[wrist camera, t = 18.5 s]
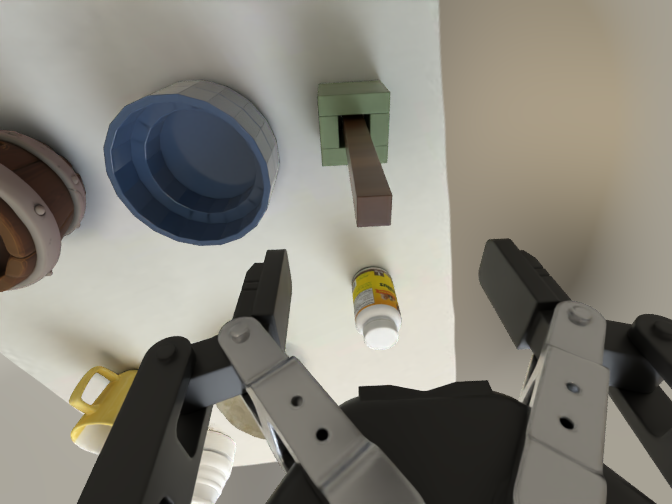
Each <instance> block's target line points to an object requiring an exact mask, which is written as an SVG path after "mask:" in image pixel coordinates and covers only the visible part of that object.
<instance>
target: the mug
mask: <svg viewBox="0 0 672 504" xmlns="http://www.w3.org/2000/svg"><path fill="white" fill-rule="evenodd" d="M137 371H138V370H129V371H126V372H123V373H121V374H119V375H117V374H116V373H114V372H112V371H110V370H108V369H106V368H104V367H102V366H96V367H93V368H92V369H90V370H89V371H88V372H87V373H86V374H85V375H84V376H83V378H82V379H81V380H80V382H79V383H78V385H77V386H76V388H75V389H74V391H73V393H72V395H71V397H70V400H69V403H70V405H71V406H73V407H75V408H76V409H78V410H80V411H82V412H83V413H85V414H84V415H83V416H82V418H81V419H80V420H79V422H78V423H77V424H76V426H75V427H74V428H73V430H72V431H71V439H72V441H73V442H74V443H75V444H76V445H77V446H78V447H80V448H82V449H84V450H86V451H88V452H92V453H95V454H98V455H99V454H100V452H101V450H102V448H103V445H104V443H105V441H106V439H107V437H108V435H109V432H110V430H111V428H112V426H113V424H114V421H115V419H116V417H117V415H118V413H119V410H120V408H121V406H122V404H123V402H124V400H125V397H126V395H127V393H128V391H129V389H130V386H131V384H132V382H133V380H134V378H135V375H136V373H137ZM95 373H99V374H100V375H102V376H104V377H105V378H106V379H108V380H109V381H110V383H109V384H108V385H107V386H106V388H105V389H104V390H103V391H102V393H101V394H100V395H99V396H98V398H97V399H96V400H95V401H94V403H93V404H92V405H89V404H87V403H85V402H84V401H83V400H82V399H81V396H82V393H83V391H84V389H85V388H86V386H87V384H88V382H89V381H90V379H91V378H92V376H93V375H94V374H95Z"/></svg>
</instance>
